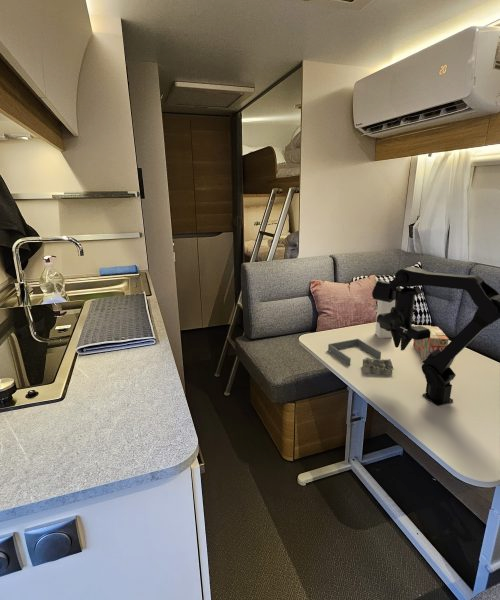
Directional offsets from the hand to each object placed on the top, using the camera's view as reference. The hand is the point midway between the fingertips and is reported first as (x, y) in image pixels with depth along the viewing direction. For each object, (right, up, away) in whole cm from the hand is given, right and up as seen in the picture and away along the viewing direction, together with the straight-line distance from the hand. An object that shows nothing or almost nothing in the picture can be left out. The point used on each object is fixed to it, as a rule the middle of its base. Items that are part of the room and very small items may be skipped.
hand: (399, 348), depth 118 cm
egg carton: (-3, -10, +13) cm, 17 cm away
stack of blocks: (+22, -6, +24) cm, 33 cm away
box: (-8, -6, +26) cm, 28 cm away
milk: (+12, 0, +44) cm, 46 cm away
